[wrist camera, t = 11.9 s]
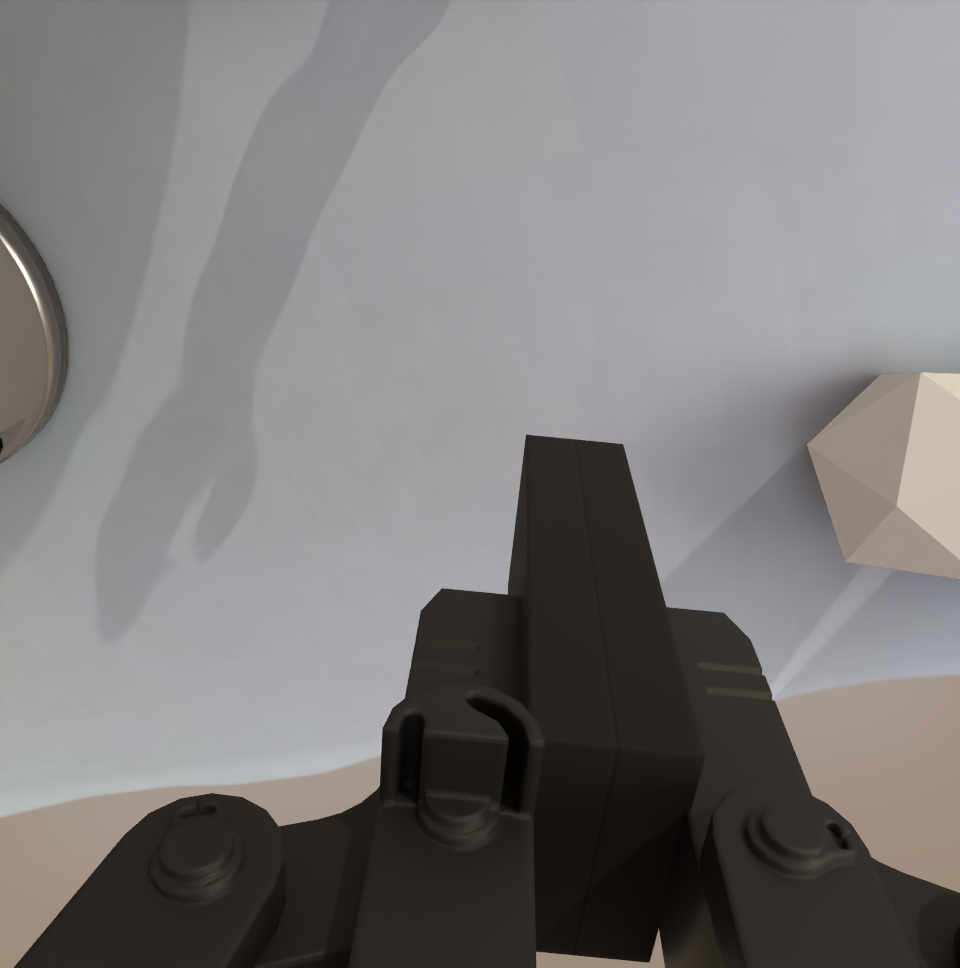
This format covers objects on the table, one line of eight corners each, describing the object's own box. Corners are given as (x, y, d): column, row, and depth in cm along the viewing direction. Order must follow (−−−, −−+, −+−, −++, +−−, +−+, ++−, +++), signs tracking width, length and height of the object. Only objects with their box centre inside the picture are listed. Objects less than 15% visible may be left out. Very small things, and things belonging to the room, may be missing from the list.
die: (935, 532, 41) (1159, 529, 32) (796, 601, 38) (999, 620, 29) (882, 366, 41) (1093, 314, 32) (737, 422, 38) (924, 382, 28)
